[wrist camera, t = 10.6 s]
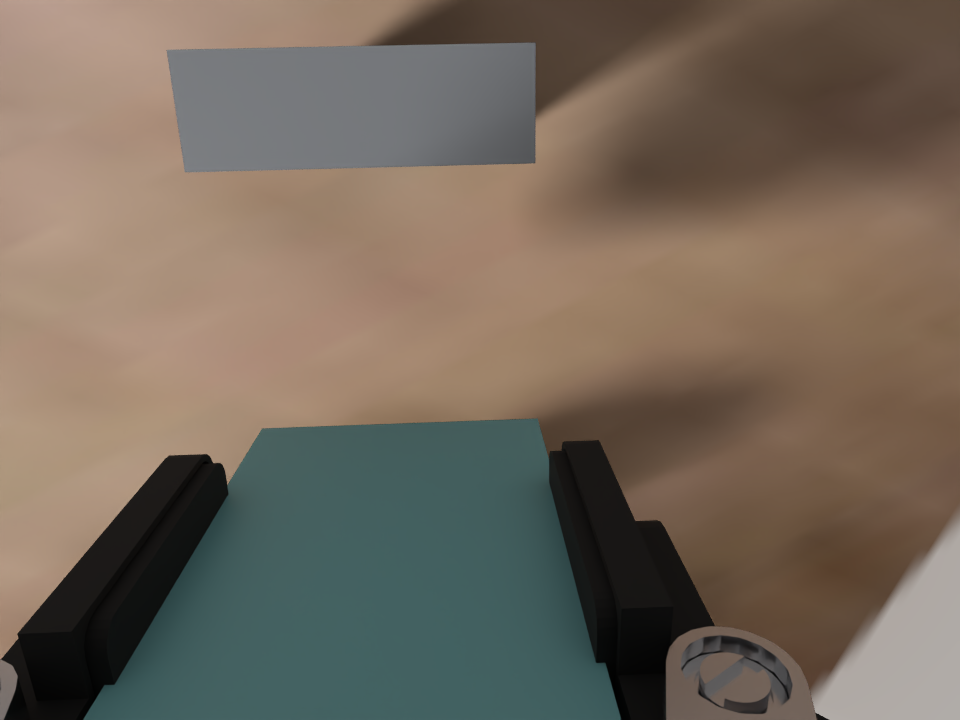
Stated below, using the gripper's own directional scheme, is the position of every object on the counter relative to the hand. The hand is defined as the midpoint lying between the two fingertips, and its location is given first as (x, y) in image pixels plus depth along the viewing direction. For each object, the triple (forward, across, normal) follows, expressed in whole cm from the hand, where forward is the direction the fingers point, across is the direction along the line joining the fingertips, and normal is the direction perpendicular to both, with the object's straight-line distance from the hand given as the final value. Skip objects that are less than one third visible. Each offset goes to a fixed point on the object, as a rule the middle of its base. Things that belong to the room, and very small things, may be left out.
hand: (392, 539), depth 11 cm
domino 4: (+11, 0, -6) cm, 13 cm away
